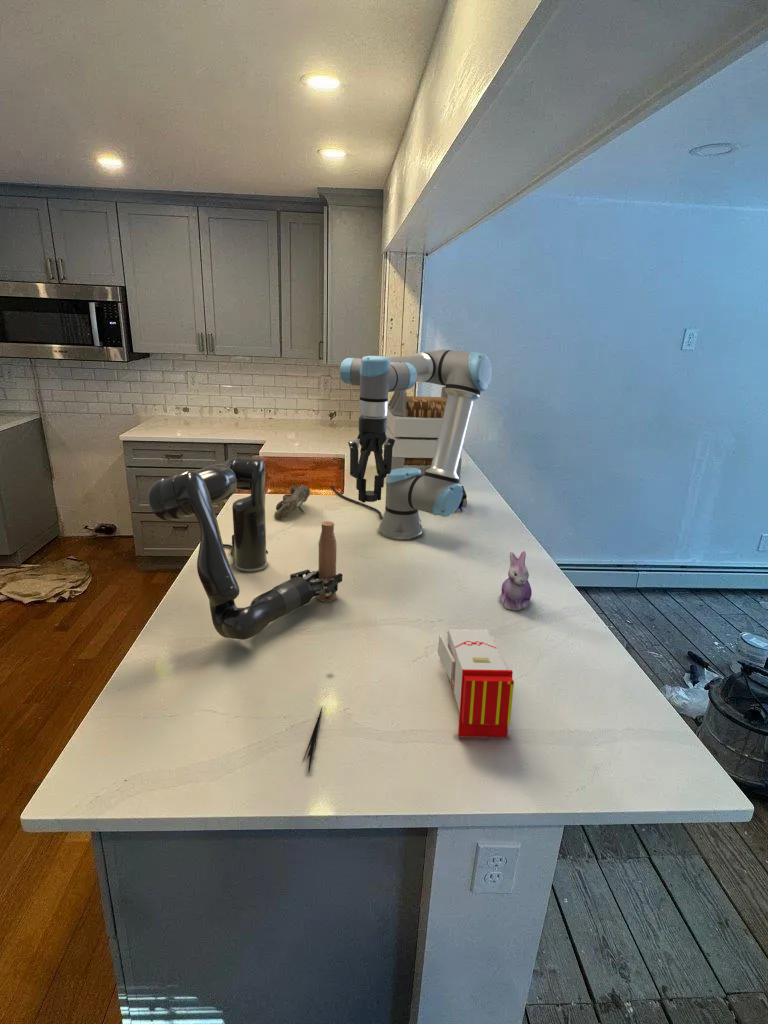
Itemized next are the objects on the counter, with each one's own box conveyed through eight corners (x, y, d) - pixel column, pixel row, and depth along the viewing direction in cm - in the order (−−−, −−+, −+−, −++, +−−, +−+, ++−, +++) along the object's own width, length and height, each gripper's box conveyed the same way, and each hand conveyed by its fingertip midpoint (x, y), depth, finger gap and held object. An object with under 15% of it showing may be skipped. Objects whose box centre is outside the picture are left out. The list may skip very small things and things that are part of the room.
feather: (331, 679, 122) (336, 673, 122) (307, 777, 96) (313, 769, 95) (324, 675, 122) (329, 669, 121) (298, 772, 95) (304, 764, 95)
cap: (377, 497, 160) (378, 490, 160) (377, 502, 156) (377, 495, 155) (362, 496, 160) (362, 490, 160) (361, 501, 156) (361, 494, 155)
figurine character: (467, 516, 223) (461, 500, 237) (469, 499, 220) (463, 483, 233) (450, 516, 223) (446, 499, 236) (452, 498, 220) (447, 483, 233)
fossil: (279, 491, 226) (308, 470, 221) (295, 509, 228) (323, 489, 223) (264, 515, 206) (294, 493, 201) (281, 534, 209) (312, 514, 204)
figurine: (514, 615, 149) (521, 563, 144) (490, 597, 158) (496, 548, 153) (541, 608, 153) (549, 557, 148) (516, 591, 162) (523, 543, 157)
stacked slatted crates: (382, 463, 289) (386, 382, 275) (445, 464, 293) (451, 384, 279) (390, 482, 257) (394, 392, 243) (460, 483, 261) (468, 394, 247)
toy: (488, 613, 130) (523, 677, 101) (484, 667, 133) (517, 744, 104) (435, 612, 130) (455, 676, 101) (432, 666, 133) (451, 743, 103)
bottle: (339, 596, 155) (340, 522, 148) (329, 603, 151) (330, 528, 144) (324, 591, 157) (325, 518, 150) (314, 598, 153) (314, 524, 146)
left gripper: (310, 592, 136) (354, 568, 149) (268, 574, 144) (314, 554, 157) (310, 619, 139) (353, 594, 152) (269, 600, 146) (314, 578, 159)
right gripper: (392, 412, 158) (388, 492, 166) (337, 415, 149) (335, 499, 157) (407, 417, 152) (402, 499, 160) (351, 420, 143) (348, 508, 151)
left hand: (333, 573), depth 154 cm, fingers closed on bottle, 4 cm apart
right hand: (369, 499), depth 158 cm, fingers closed on cap, 4 cm apart
